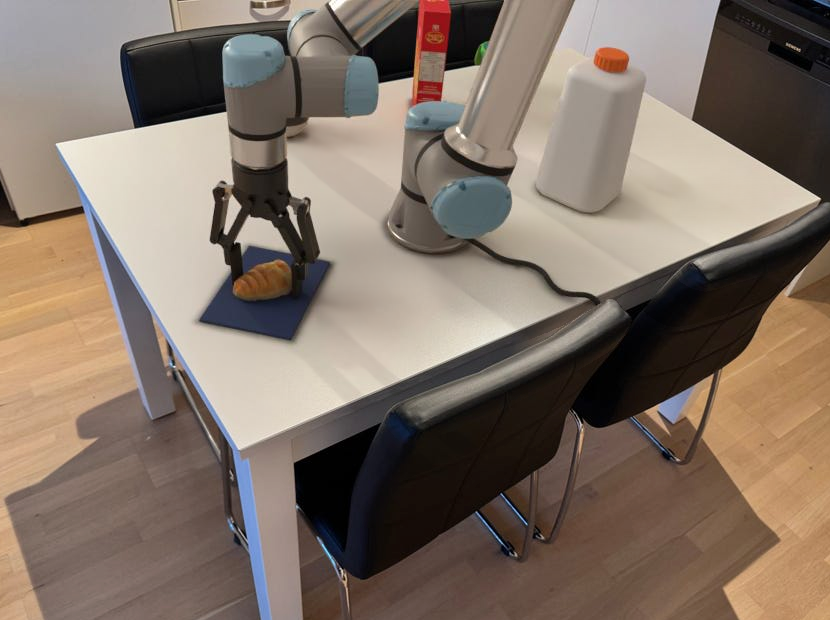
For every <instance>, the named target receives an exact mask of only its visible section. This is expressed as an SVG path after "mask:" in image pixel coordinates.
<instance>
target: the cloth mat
mask: <svg viewBox="0 0 830 620" xmlns="http://www.w3.org/2000/svg"><path fill="white" fill-rule="evenodd" d="M278 259H279V260H282V261H284V262H286V264H287V265H288V266H289V268H290V269H291V264H292V262H293V260H294V258H293V256H292V254H291V253H290V252H289V253H288V252H283V251H278V250H274V249H268V248H263V247H258V246H253V245H248V246H247V248H246V249H245V251H244V252H243V254H242V264H243V275H244V274H246V273H247V272H248V271H250V270H251V269H253V268H254V267H255V266H257V265H262V264H264V263H270V262H274V261H275V260H278ZM330 265H331V261H329V260H328V261H327V260H324V259H320V258H319V259H318V258H317V260H316V262H315V263H314V264H310V263H308V274H307V276H306V278H305V280H304V281H303V280H302V291H301V293H300V295H299V296H298V298H297V299H293V298H292V292H291V293H289V294H287V295H281V296H280V297H276V298H272V299H271V298H270V299H267V300H256V301H247V300H243V299H240V298H238V297H237V296H235V295H234V293H233V285H232V276H231V272H230V273H229V274H228V276H227V278H226V279H225V281H224V282H223V284H222V285H221V286H220V288H219V290H218V291H217V293H216V294H215V295H214V297H213V298H212V300H211V302H210V303H209V305H208V306H207V307H206V309H205V310H204V312H203V313H202V315H201V316H200V318H199V322H201V323H205V324H210V325H215V326H220V327H224V328H230V329H235V330H240V331H245V332H248V333H249V332H250V333H253V334H260V335H262V336H263V335H264V336H268V337H273V338H278V339H282V340H287V341H291V340H292V338H293V337H294V335H295V333H296V331H297V329H298V327H299V325H300V323H301V321H302V319H303V317H304V315H305V313H306V311H307V309H308V307H309V305H310V303H311V302H312V299H313V298H314V295H315V293H316V291H317V290H318V288H319V286H320V284H321V282H322V280H323V278H324V276H325V273H326V272H327V270H328V268H329V266H330Z"/></svg>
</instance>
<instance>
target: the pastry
mask: <svg viewBox="0 0 830 620" xmlns="http://www.w3.org/2000/svg"><path fill="white" fill-rule="evenodd" d="M291 292H292V275H291V269H290V268H289V266H288V265H287V264H286V262H284V261H282V260H279V259H278V260H275V261H274V262H270V263H264V264H262V265H257V266H255V267H254V268H253V269H251V270H250V271H248V272H247V273H246V274H244V275H242V276H241V277H239V278H238V280H237V281H235V282H234V286H233V293H234V295H235V296H237V297H238V298H240V299H243V300H247V301H256V300H267V299H270V298H271V299H272V298H276V297H280V296H281V295H287V294H289V293H291Z"/></svg>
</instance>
